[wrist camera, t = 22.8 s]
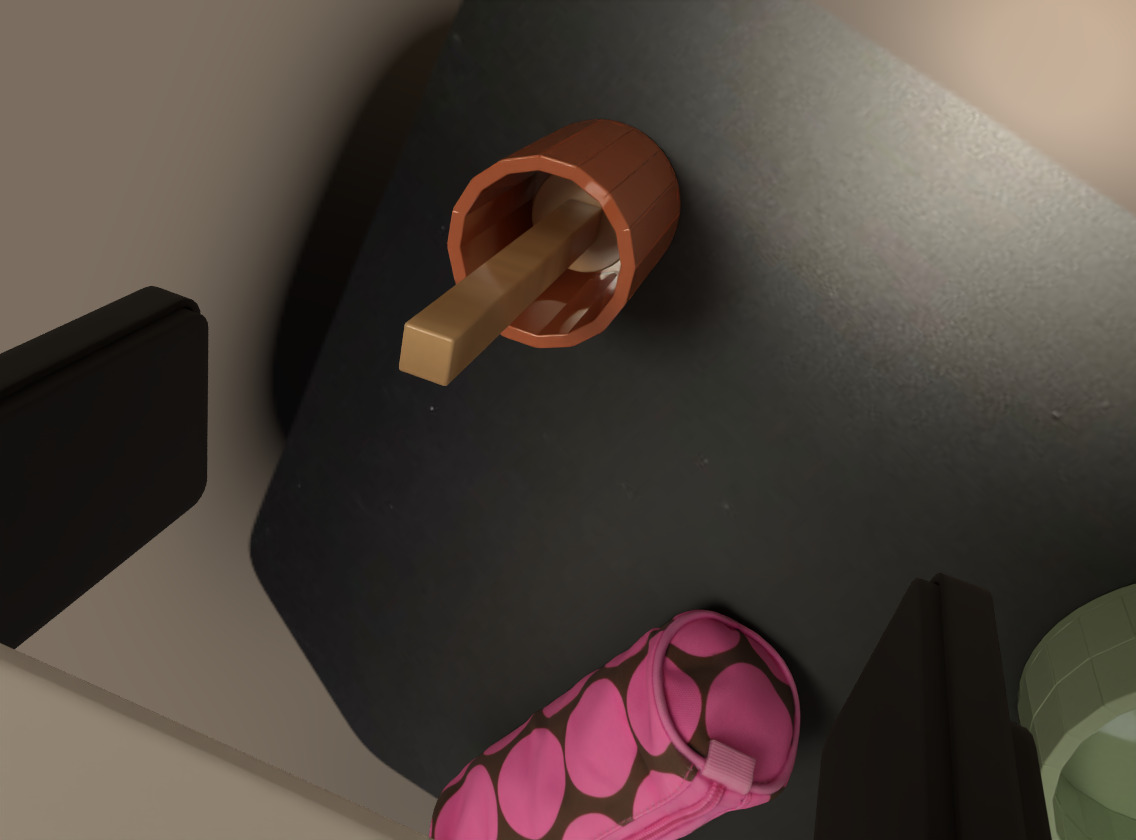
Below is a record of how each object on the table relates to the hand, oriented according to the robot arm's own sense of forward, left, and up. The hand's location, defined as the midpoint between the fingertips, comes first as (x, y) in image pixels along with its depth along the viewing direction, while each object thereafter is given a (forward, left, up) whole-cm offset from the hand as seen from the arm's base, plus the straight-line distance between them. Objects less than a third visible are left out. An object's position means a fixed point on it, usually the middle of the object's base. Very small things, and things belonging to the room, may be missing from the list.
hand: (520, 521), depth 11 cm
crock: (+4, -6, -27) cm, 28 cm away
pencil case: (+31, +2, -27) cm, 41 cm away
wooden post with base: (+4, -6, -27) cm, 28 cm away
